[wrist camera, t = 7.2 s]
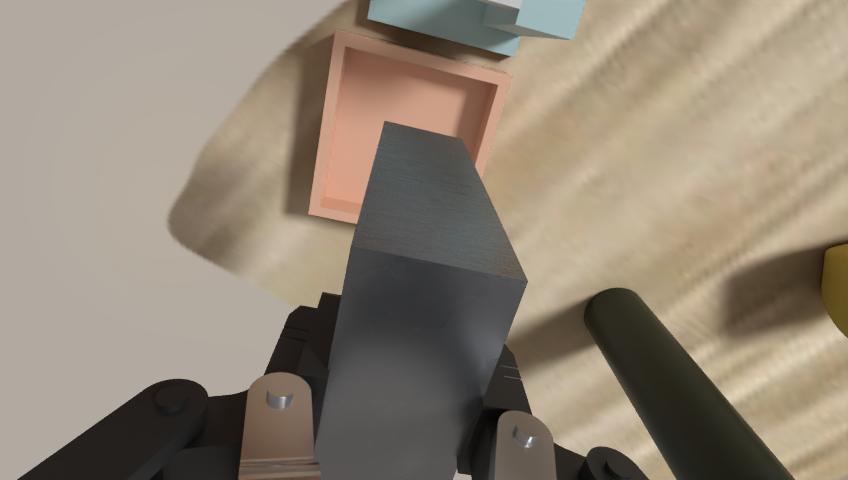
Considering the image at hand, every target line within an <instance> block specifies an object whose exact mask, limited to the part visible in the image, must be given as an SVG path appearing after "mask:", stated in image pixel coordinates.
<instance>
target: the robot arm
mask: <svg viewBox="0 0 848 480" xmlns="http://www.w3.org/2000/svg"><path fill="white" fill-rule="evenodd" d="M340 301H341V295H337V294H331V293H326V292H323V293H322V295H321V298H320V301H319V304H318V308H312V307H307V306H299V307H298V308H297V309H295V310H294V311H293V312H292V313H290V314H289V316H288V318H287V321H286V323H285V325H284V329H283V330H282V333H281V335H280V338H279V340H278V342H277V345H276V347H275V350H274V352H273V354H272V357H271V359H270V362H269V364H268V366H267V369H266V371H265V373H264V375H263V376H262V377H260V378H258V379H257V380H256V381H255V382H254V383H252V385H251V386H250V388H249V389H248V390H246V391H243V392H240V393H237V394H232V395H223V396H213V397H208V394H207V391H206V390H205V388H203V387H202V386H201V385H200V384H198V383H196V382H194V381H190V380H186V379H170V380H165V381H161V382H158V383H156V384H153V385H151V386H149V387H148V388H146V389H144V390H143V391H142V392H140V393H139V394H137V395H136V396H135V397H133V398H132V399H130V400H129V401H128V402H126V403H125V404H123V405H122V406H120V407H119V408H118V409H116V410H115V411H113V412H112V413H111V414H109V415H108V416H106V417H105V418H104V419H102V420H101V421H99V422H98V423H96V424H95V425H94V426H92V427H91V428H89V429H88V430H87V431H85V432H84V433H82V434H81V435H80V436H78V437H77V438H76V439H74V440H73V441H71V442H70V443H68V444H67V445H65V446H64V447H63V448H61V449H60V450H58V451H57V452H56V453H54V454H53V455H51V456H50V457H48V458H47V459H46V460H44V461H43V462H41V463H40V464H39V465H37V466H36V467H34V468H33V469H32V470H30V471H29V472H27V473H26V474H24V475H23V476H22V477H20V478H19V479H17V480H321V470H320V464H319V462H315V457H314V448H315V444H316V439H317V434H318V429H319V423H320V418H321V413H322V408H323V403H324V398H325V393H326V388H327V383H328V378H329V372H330V370H327V368H328V363H329V358H330V352H331V347H332V342H333V337H334V332H335V326H336V321H337V316H338V311H339V306H340ZM520 379H521V377H520V374H519V371H518V370H517V364H516V361H515V358H514V355H513V354H512V352H511V351H510V350H509V349H508V348H507V346H506V345H505V344H504V346H503V348H502V351H501V354H500V356H499V359H498V362H497V364H496V367H495V369H494V372H493V375H492V377H491V380H490V383H489V385H488V388H487V390H486V393H485V396H482V397H481V399H480V402H479V404H478V407H477V410H476V412H475V415H474V418H473V420H472V423H471V426H470V428H469V431H468V434H467V436H466V439H465V442H464V444H463V447H462V450H461V452H460V455H459V458H458V460H457V470H458V473H460V474H467V475H471V477H472V480H649V479H648V478H647V477H646V475H645V474H644V473H643V472H642V471H641V470H640V469H639V467H638V466H637V465H636V464H635V463H634V462H633V461H632V460H631V459H629V458H628V457H627V456H625V455H624V454H622V453H621V452H619V451H617V450H614V449H612V448H608V447H601V446H600V447H595V448H593V449H591V450H590V451H589V453H588V454H587V456H586V457H584V456H581V455H579V454H577V453H574V452H572V451H570V450H567V449H565V448H563V447H561V446H559V445H557V444H555V443H554V442H553V437H552V435H551V433H550V431H549V429H548V428H547V427H546V426H545V425H544V424H543V422H541V421H540V420H539V419H537V418H536V417H534V416H533V415H532V412H531V409H530V406H529V403H528V399H527V396H526V393H525V390H524V387H523V384H522V381H521V380H520Z"/></svg>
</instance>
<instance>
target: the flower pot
mask: <svg viewBox="0 0 848 480" xmlns="http://www.w3.org/2000/svg"><path fill="white" fill-rule="evenodd" d="M821 294H822V297H823V301H824V304H825V307H826V309H827V311H828V314H829V316H830V317H831V319H832V321H833V322H834V324H835V325H836V326H837V328H838V329H839V330H840V331H841V332H842V333H843V334H844V335H845V336H846V337H847V338H848V244H844V245H840V246H836V247H832V248H829V249H827V250H826V252H825V255H824V266H823V277H822V285H821Z"/></svg>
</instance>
